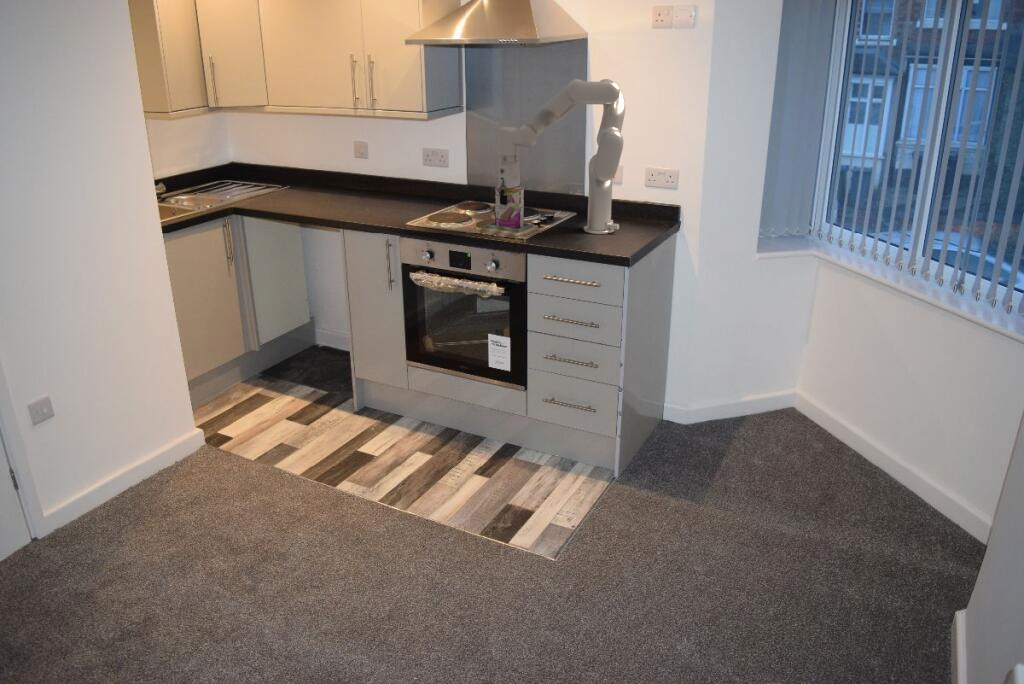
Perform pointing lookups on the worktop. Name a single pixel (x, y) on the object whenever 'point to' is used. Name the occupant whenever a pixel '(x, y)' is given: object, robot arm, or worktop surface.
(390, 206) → the worktop surface
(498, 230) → the foundation plinth
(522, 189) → the candy bar box
